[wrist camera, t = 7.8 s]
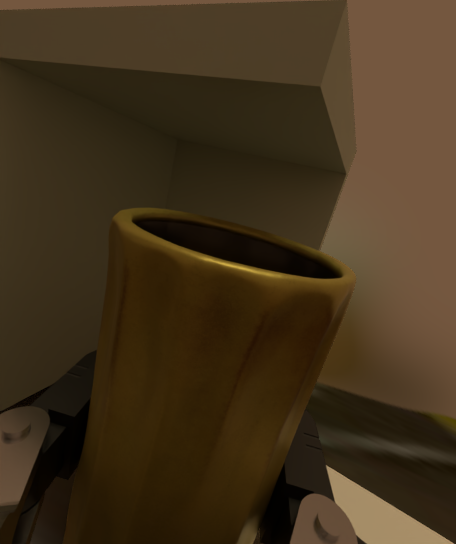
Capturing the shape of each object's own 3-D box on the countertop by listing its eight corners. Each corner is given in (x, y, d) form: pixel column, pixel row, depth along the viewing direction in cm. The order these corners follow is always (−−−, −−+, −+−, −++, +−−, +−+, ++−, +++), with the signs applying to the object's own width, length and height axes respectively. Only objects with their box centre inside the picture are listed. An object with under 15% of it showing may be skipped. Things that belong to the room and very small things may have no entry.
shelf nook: (-12, 401, 16) (-23, 10, 10) (141, 327, 27) (176, 120, 22) (169, 578, 11) (346, -1, 5) (266, 398, 22) (356, 151, 16)
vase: (157, 479, 14) (221, 214, 10) (249, 598, 11) (401, 274, 7) (14, 601, 9) (27, 185, 5) (102, 884, 6) (324, 351, 2)
